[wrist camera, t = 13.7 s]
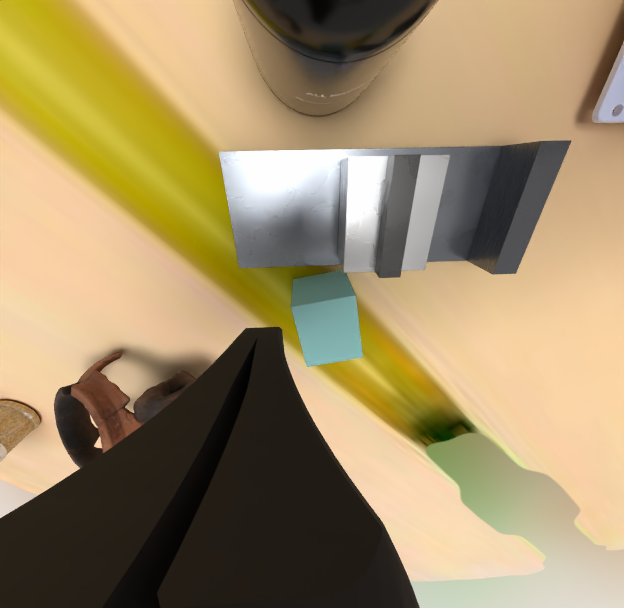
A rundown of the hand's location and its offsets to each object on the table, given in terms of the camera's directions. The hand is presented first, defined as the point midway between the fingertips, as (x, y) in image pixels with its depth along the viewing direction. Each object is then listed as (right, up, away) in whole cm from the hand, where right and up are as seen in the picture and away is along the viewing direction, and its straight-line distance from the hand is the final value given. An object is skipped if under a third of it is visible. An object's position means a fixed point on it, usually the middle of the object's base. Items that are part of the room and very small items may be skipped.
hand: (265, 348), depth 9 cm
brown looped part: (-11, -6, +15) cm, 19 cm away
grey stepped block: (+6, +8, +7) cm, 12 cm away
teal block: (+3, +2, +11) cm, 11 cm away
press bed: (+5, +8, +7) cm, 12 cm away
